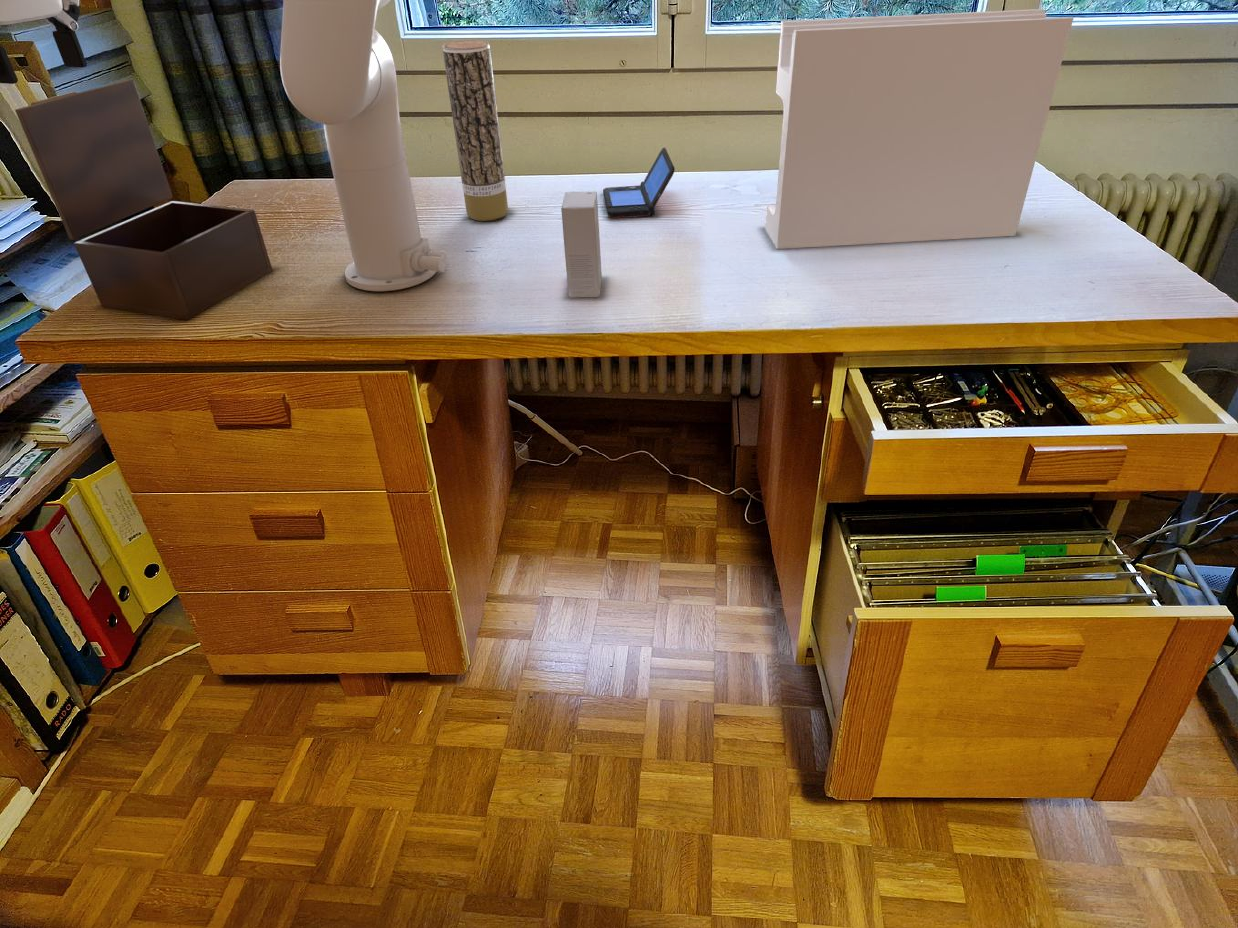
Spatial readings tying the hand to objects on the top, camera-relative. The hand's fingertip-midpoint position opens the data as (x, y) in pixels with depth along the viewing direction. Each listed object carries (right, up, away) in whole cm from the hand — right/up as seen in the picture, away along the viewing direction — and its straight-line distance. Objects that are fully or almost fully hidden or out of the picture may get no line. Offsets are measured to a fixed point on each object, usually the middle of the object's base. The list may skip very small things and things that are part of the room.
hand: (43, 74), depth 100 cm
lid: (+5, -9, +5) cm, 11 cm away
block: (+111, -14, +21) cm, 114 cm away
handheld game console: (+74, -5, +34) cm, 82 cm away
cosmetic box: (+66, -25, +8) cm, 71 cm away
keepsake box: (+11, -24, +13) cm, 29 cm away
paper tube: (+49, -8, +32) cm, 60 cm away
